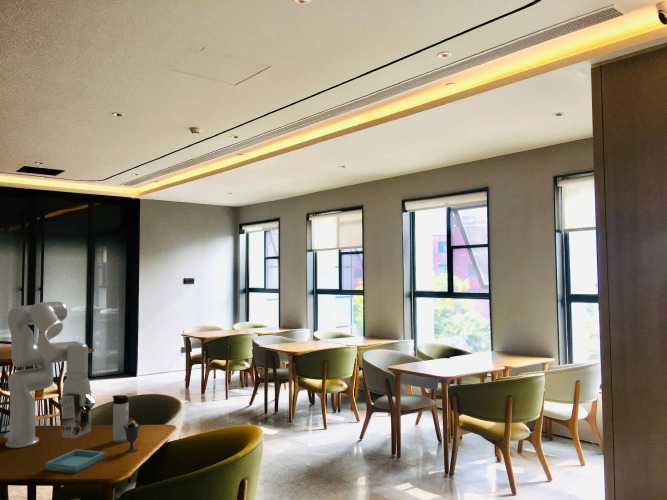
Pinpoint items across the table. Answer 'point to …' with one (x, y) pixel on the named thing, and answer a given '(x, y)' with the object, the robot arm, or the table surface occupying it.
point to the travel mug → (120, 418)
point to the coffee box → (73, 417)
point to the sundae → (131, 433)
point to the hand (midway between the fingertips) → (76, 421)
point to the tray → (75, 461)
